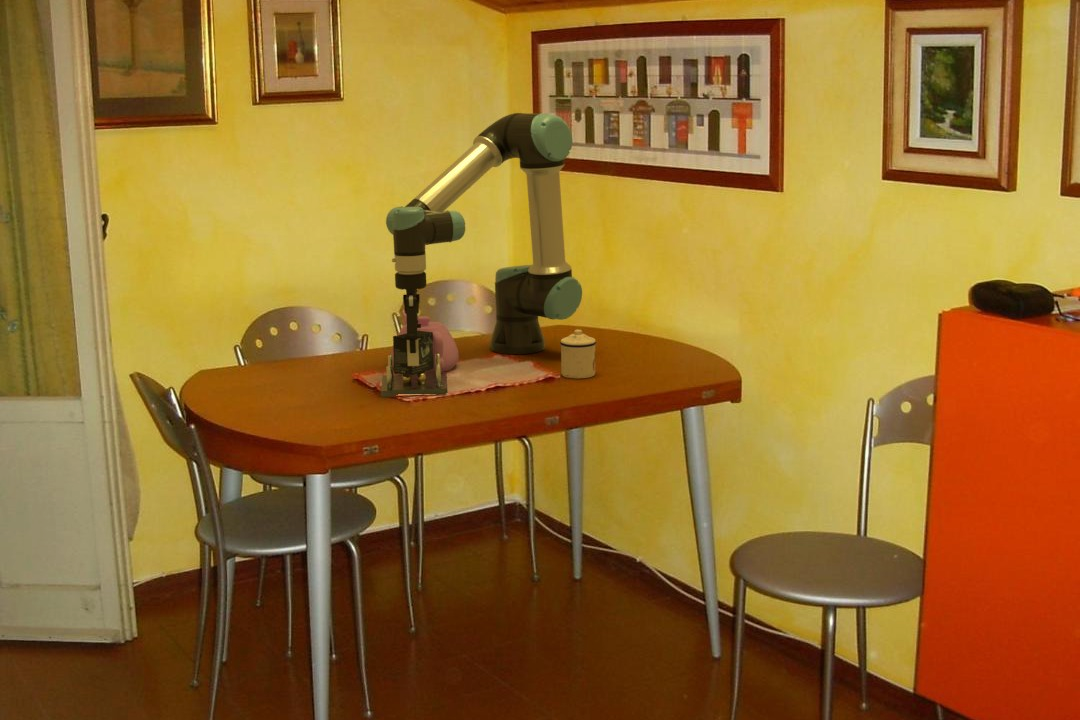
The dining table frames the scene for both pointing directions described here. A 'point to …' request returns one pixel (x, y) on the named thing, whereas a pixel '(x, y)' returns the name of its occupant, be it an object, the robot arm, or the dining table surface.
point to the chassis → (413, 381)
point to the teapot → (436, 343)
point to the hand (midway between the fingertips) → (413, 360)
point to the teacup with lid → (578, 356)
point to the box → (424, 354)
